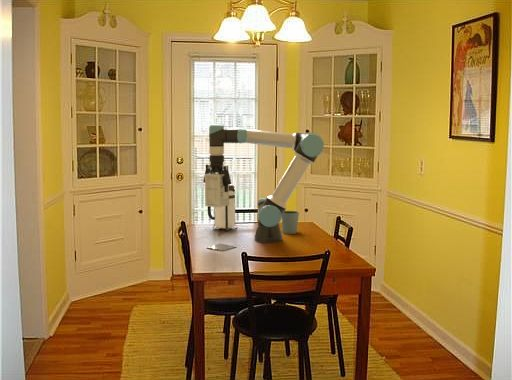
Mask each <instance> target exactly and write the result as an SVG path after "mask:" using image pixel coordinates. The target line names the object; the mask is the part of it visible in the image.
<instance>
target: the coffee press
mask: <svg viewBox="0 0 512 380" xmlns="http://www.w3.org/2000/svg"><path fill="white" fill-rule="evenodd" d="M213 208H214V210H213V211H214V212H213V213H214V216H213V215H212V207H210V206H207V215H208V218H209V219H210V220H213V223H214V225H213V226H212V230H213V231H215V230H216V229H224V230H225V232H229V229H232V228H234V229H235V230H237V229H238V226H237V224H236V187H235V186H234V184H232V183H231V184H230V185H229V205H227V206H223V207H213ZM235 226H236V227H235Z"/></svg>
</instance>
